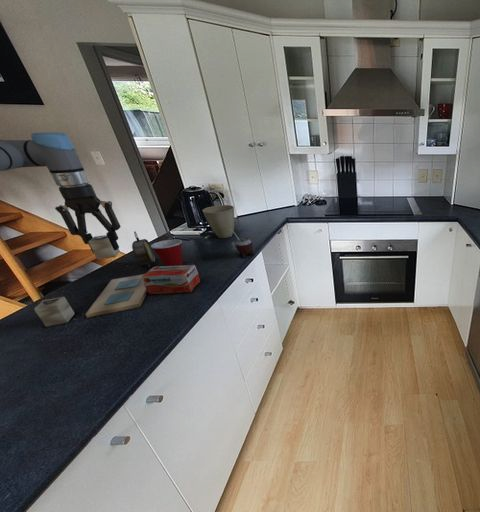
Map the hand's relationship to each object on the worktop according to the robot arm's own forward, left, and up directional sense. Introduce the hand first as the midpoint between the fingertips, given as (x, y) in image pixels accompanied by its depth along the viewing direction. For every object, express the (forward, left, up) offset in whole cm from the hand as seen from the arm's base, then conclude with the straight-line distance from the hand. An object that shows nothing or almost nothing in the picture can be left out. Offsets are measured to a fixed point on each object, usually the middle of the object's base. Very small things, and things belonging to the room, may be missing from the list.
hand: (106, 250), depth 98 cm
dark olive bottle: (+3, +19, -17) cm, 26 cm away
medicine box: (+17, -8, -17) cm, 25 cm away
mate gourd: (+43, +12, -17) cm, 48 cm away
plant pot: (+33, +44, -17) cm, 58 cm away
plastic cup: (+14, +12, -17) cm, 25 cm away
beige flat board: (+1, -5, -16) cm, 17 cm away
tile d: (-13, -15, -16) cm, 25 cm away
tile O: (0, 0, -2) cm, 2 cm away
